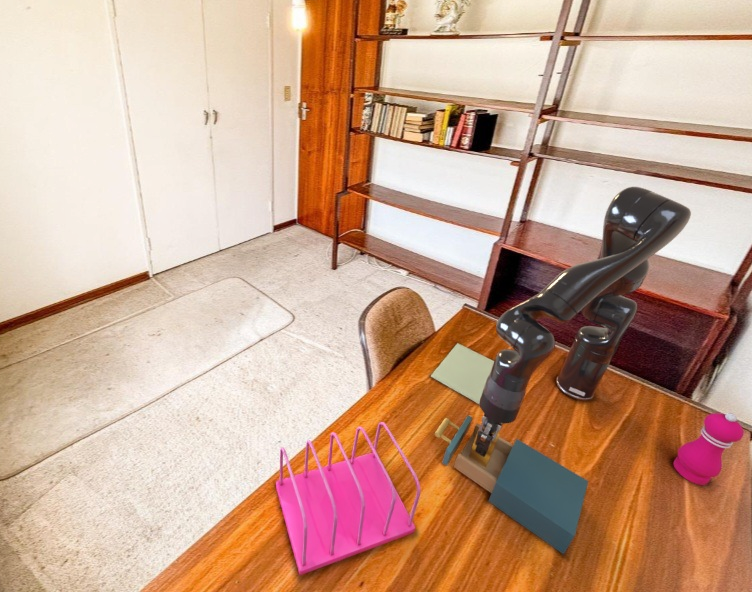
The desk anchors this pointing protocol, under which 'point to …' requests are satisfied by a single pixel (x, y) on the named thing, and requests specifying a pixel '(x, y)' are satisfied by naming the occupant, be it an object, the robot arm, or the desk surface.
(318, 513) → the file sorter
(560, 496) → the cabinet
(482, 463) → the block
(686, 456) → the pepper mill
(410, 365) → the desk surface
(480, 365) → the mat
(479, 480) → the drawer
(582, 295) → the robot arm
